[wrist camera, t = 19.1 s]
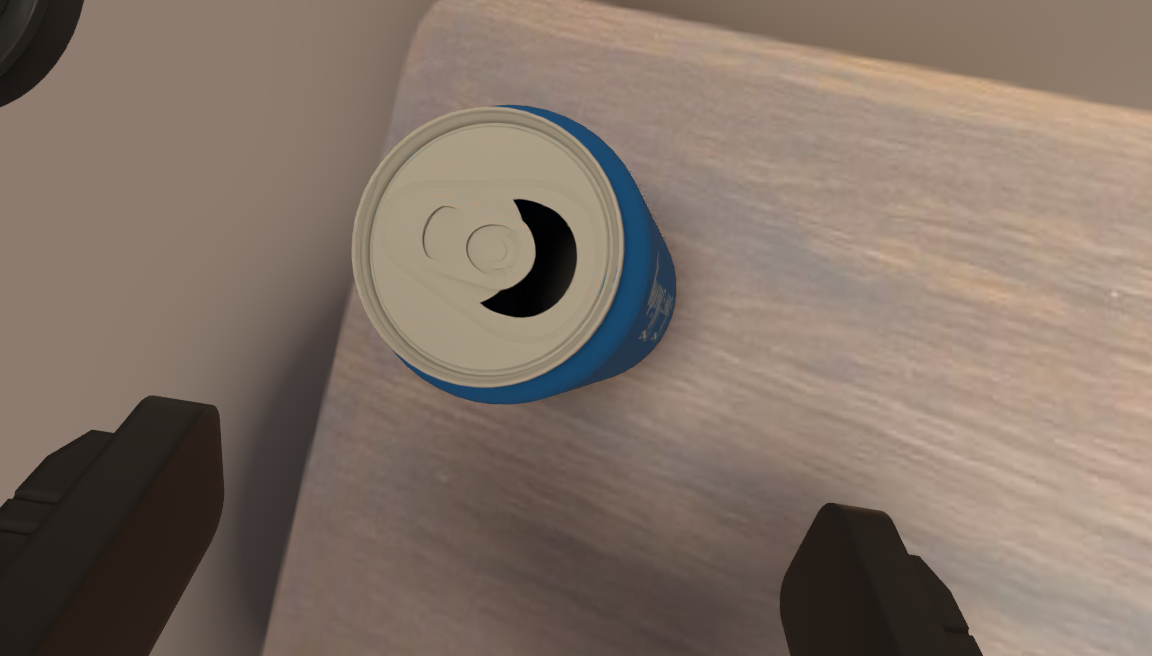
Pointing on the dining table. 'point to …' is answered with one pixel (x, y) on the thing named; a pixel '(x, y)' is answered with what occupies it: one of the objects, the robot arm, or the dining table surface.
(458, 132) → the beverage can
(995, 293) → the dining table surface
